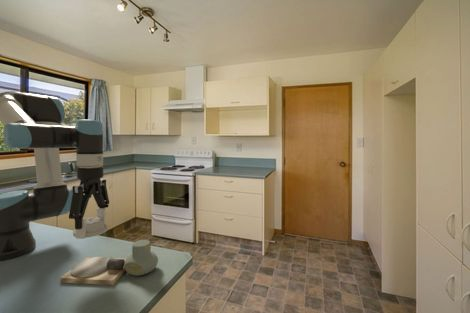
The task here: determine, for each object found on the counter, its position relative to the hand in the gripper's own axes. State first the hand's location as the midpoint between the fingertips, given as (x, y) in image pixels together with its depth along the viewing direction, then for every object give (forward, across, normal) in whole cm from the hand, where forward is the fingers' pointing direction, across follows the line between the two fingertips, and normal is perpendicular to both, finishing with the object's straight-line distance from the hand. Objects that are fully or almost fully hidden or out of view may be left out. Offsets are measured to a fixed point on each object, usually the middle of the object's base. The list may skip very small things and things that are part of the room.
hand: (91, 231), depth 78 cm
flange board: (+14, 0, -3) cm, 14 cm away
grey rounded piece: (+14, +2, -16) cm, 22 cm away
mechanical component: (+1, 0, 0) cm, 1 cm away
